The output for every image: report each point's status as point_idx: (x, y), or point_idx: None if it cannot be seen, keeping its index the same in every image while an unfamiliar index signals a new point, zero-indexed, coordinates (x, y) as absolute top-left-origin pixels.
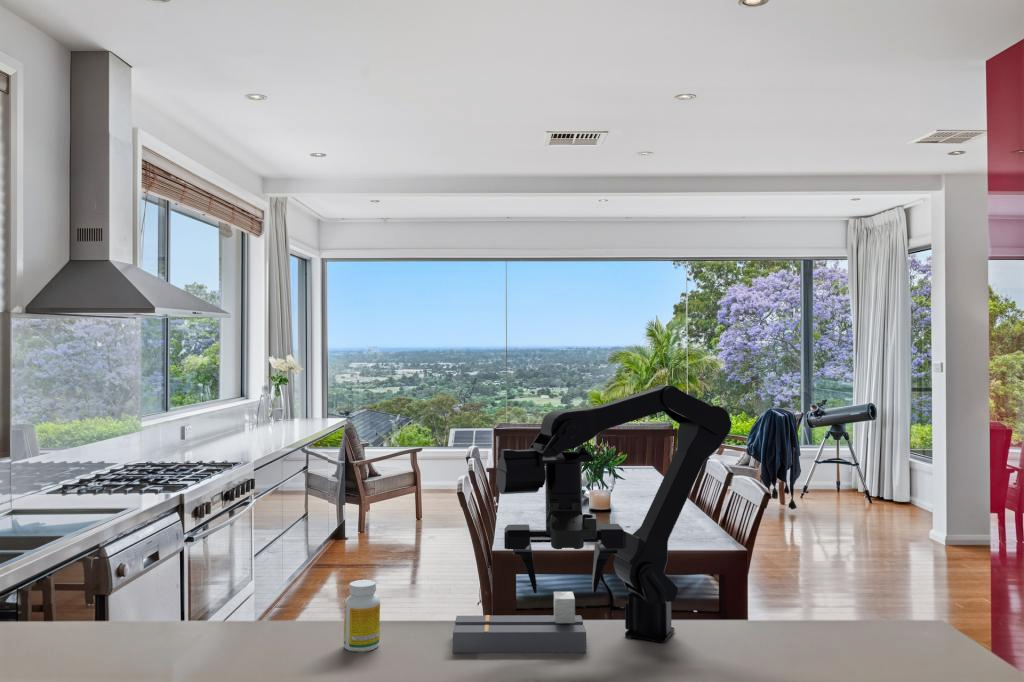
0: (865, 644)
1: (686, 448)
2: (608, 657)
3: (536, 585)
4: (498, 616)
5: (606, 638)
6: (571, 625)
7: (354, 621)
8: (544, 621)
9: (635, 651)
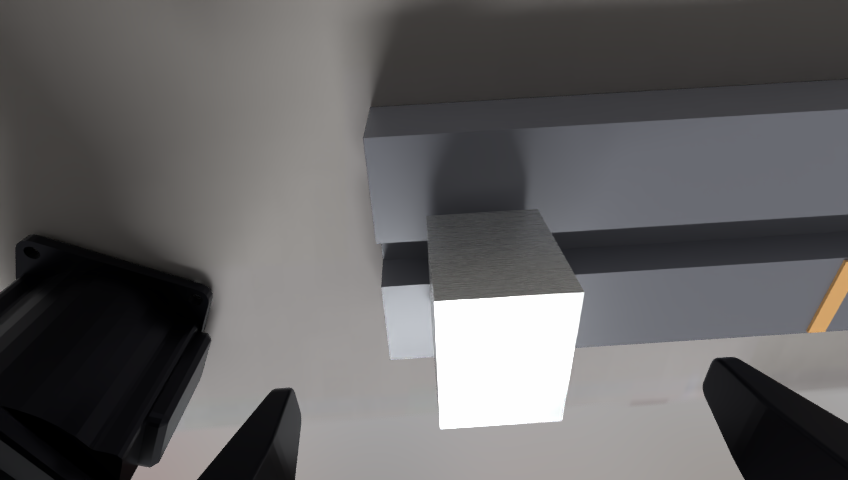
0: None
1: None
2: (258, 46)
3: (759, 397)
4: (769, 325)
5: (289, 274)
6: None
7: None
8: None
9: (139, 135)
